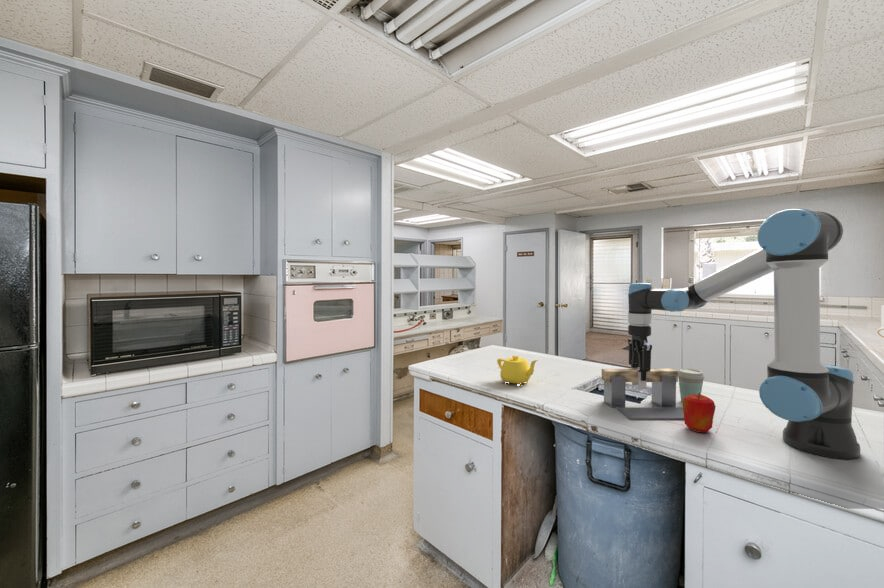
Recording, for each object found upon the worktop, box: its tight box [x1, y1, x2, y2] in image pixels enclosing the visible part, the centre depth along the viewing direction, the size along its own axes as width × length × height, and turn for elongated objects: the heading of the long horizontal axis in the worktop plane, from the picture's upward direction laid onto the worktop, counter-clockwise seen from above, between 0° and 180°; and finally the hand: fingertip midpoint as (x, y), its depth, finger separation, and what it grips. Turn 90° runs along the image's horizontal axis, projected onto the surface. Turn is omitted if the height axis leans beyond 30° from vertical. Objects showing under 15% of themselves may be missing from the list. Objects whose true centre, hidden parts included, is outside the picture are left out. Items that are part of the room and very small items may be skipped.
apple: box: [681, 393, 716, 433], centre depth 115 cm, size 9×8×12 cm
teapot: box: [496, 355, 539, 384], centre depth 168 cm, size 13×20×12 cm
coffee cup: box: [677, 368, 705, 403], centre depth 139 cm, size 8×8×12 cm
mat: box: [616, 406, 684, 421], centre depth 128 cm, size 10×24×1 cm, turn 88°
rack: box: [603, 376, 677, 408], centre depth 138 cm, size 7×23×12 cm, turn 88°
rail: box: [601, 368, 679, 383], centre depth 138 cm, size 26×4×4 cm, turn 88°
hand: (638, 386), depth 138 cm, fingers closed on rail, 4 cm apart
